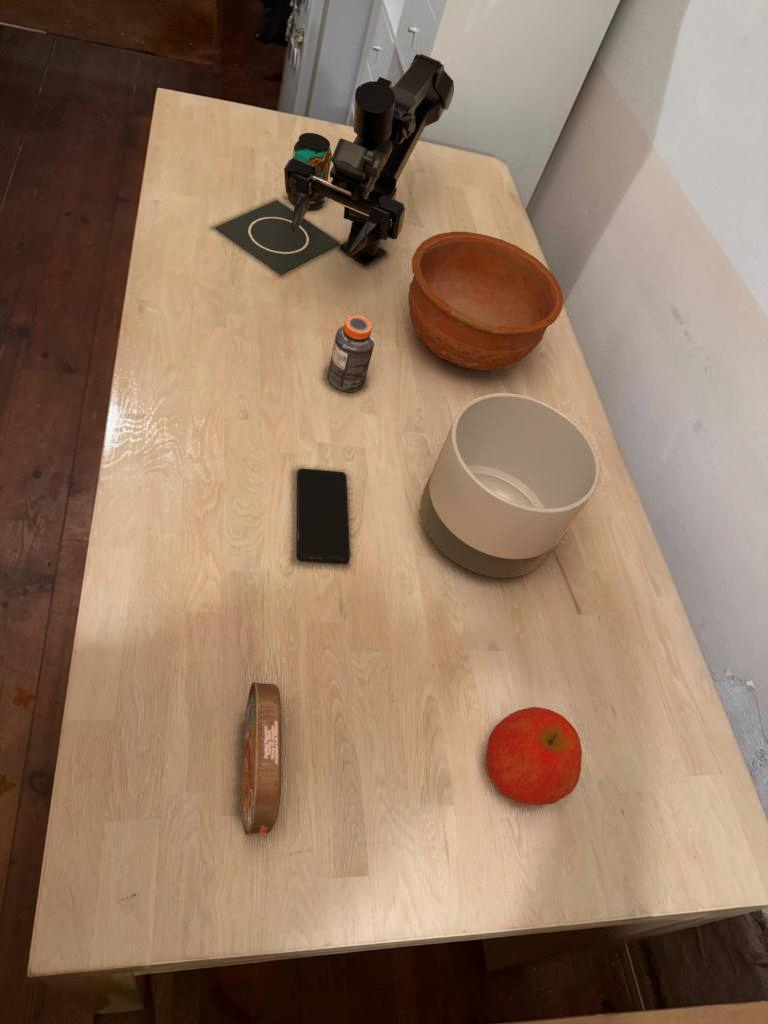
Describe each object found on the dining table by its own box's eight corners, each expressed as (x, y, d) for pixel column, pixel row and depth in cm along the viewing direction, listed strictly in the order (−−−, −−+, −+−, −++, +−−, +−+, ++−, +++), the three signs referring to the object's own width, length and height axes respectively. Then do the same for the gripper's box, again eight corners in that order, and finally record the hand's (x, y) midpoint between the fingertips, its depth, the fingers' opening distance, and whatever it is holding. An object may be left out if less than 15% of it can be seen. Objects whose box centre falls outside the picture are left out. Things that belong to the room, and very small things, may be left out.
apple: (576, 799, 85) (619, 770, 76) (498, 826, 81) (535, 798, 73) (538, 715, 90) (574, 679, 82) (463, 736, 86) (493, 701, 78)
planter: (438, 597, 97) (482, 518, 83) (398, 481, 107) (432, 394, 93) (565, 580, 103) (626, 504, 89) (516, 472, 113) (564, 389, 100)
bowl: (373, 368, 120) (395, 292, 108) (411, 284, 136) (433, 211, 124) (517, 421, 120) (554, 351, 109) (537, 331, 136) (572, 262, 124)
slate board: (276, 201, 142) (276, 199, 142) (339, 244, 138) (339, 242, 138) (215, 228, 133) (215, 226, 133) (281, 275, 129) (281, 273, 129)
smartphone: (296, 558, 94) (297, 467, 103) (296, 561, 95) (296, 471, 104) (350, 561, 96) (346, 471, 105) (349, 564, 96) (345, 475, 105)
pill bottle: (365, 371, 119) (381, 315, 110) (361, 396, 116) (377, 341, 107) (329, 362, 119) (342, 305, 110) (324, 388, 115) (336, 331, 106)
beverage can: (316, 216, 142) (326, 156, 133) (282, 203, 142) (289, 142, 133) (328, 199, 147) (338, 139, 137) (294, 186, 147) (303, 126, 137)
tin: (245, 700, 83) (251, 668, 76) (273, 700, 84) (282, 669, 77) (240, 844, 74) (247, 822, 67) (272, 843, 75) (282, 821, 68)
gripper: (306, 98, 106) (258, 179, 102) (426, 147, 106) (383, 232, 101) (308, 155, 117) (265, 231, 113) (416, 200, 116) (377, 278, 112)
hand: (321, 242), depth 109 cm, fingers open, 9 cm apart
